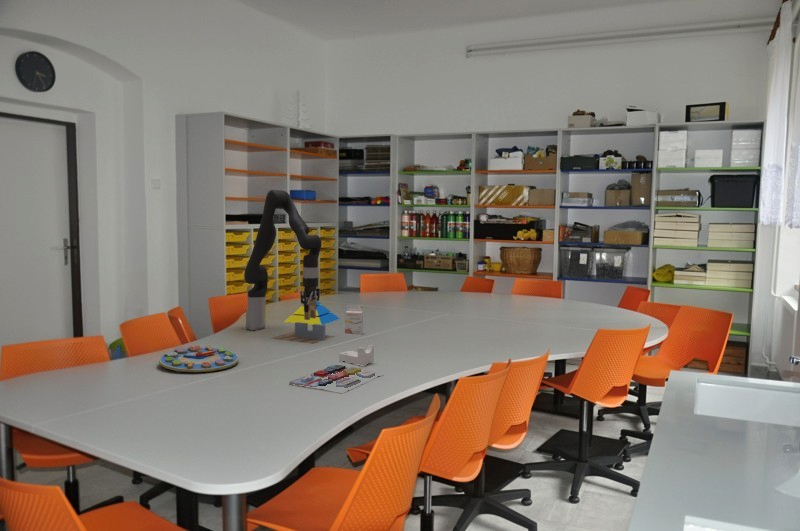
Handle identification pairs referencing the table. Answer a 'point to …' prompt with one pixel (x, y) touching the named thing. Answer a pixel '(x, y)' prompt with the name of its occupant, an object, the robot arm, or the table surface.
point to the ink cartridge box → (354, 320)
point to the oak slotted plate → (311, 310)
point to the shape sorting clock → (198, 359)
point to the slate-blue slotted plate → (316, 332)
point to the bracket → (358, 356)
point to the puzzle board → (333, 377)
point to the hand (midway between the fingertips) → (310, 311)
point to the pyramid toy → (321, 318)
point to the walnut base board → (298, 338)
